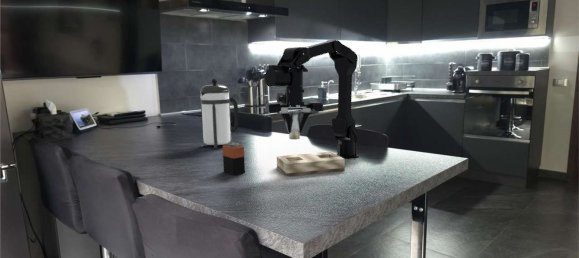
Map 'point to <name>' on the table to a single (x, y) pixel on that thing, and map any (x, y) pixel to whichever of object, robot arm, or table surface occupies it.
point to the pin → (294, 125)
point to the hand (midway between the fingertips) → (294, 132)
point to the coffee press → (217, 114)
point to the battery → (233, 158)
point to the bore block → (310, 163)
